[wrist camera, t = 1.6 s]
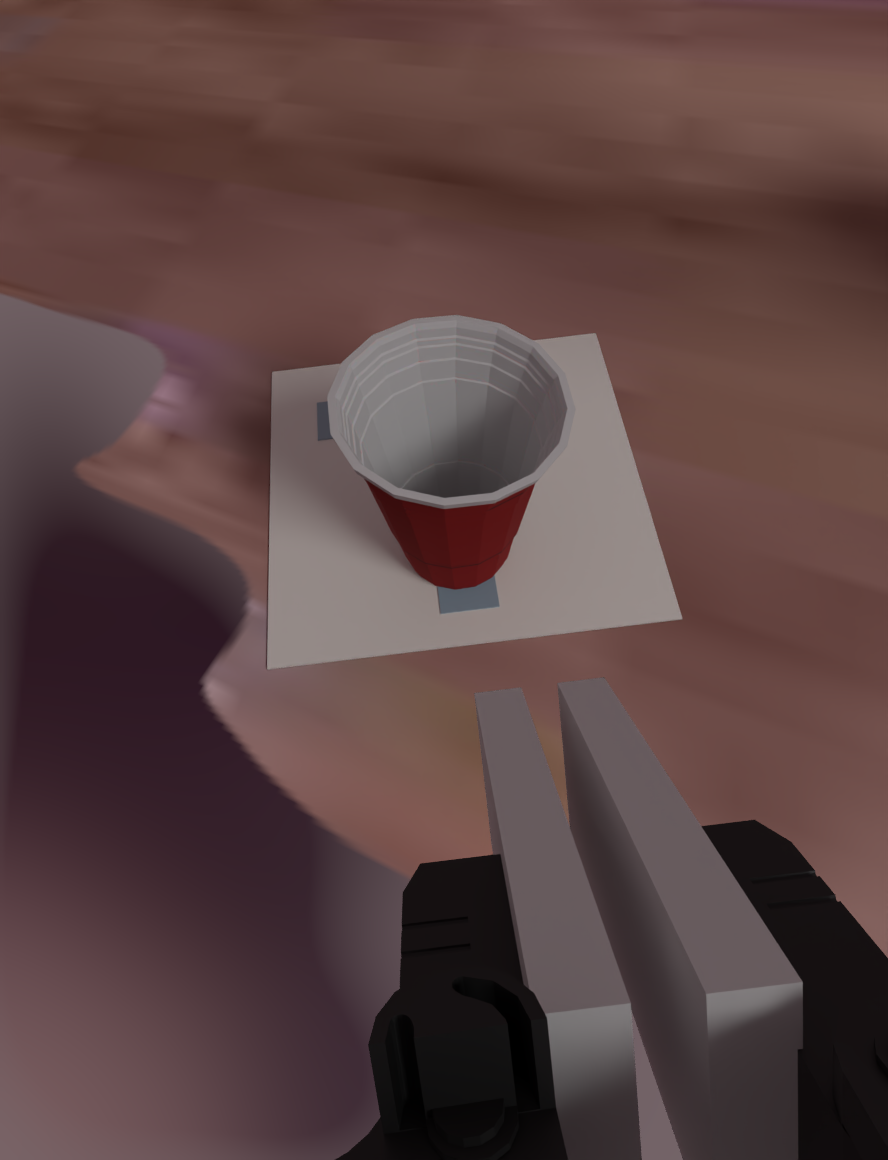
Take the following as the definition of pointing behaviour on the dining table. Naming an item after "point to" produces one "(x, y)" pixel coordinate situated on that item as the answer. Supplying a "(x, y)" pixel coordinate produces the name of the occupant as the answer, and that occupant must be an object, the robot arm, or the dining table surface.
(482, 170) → the dining table surface
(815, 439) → the dining table surface
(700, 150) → the dining table surface
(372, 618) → the placemat
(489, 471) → the plastic cup
